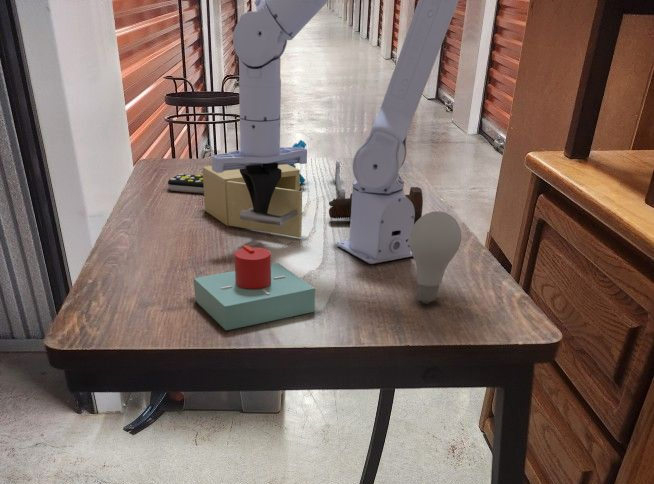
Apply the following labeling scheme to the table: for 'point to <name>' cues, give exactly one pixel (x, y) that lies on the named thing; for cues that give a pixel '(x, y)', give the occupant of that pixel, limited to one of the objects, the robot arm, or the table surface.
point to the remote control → (187, 183)
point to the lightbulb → (433, 250)
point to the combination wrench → (338, 184)
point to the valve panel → (254, 298)
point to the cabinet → (218, 181)
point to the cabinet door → (279, 217)
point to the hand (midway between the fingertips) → (260, 218)
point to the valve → (252, 267)
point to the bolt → (343, 206)
